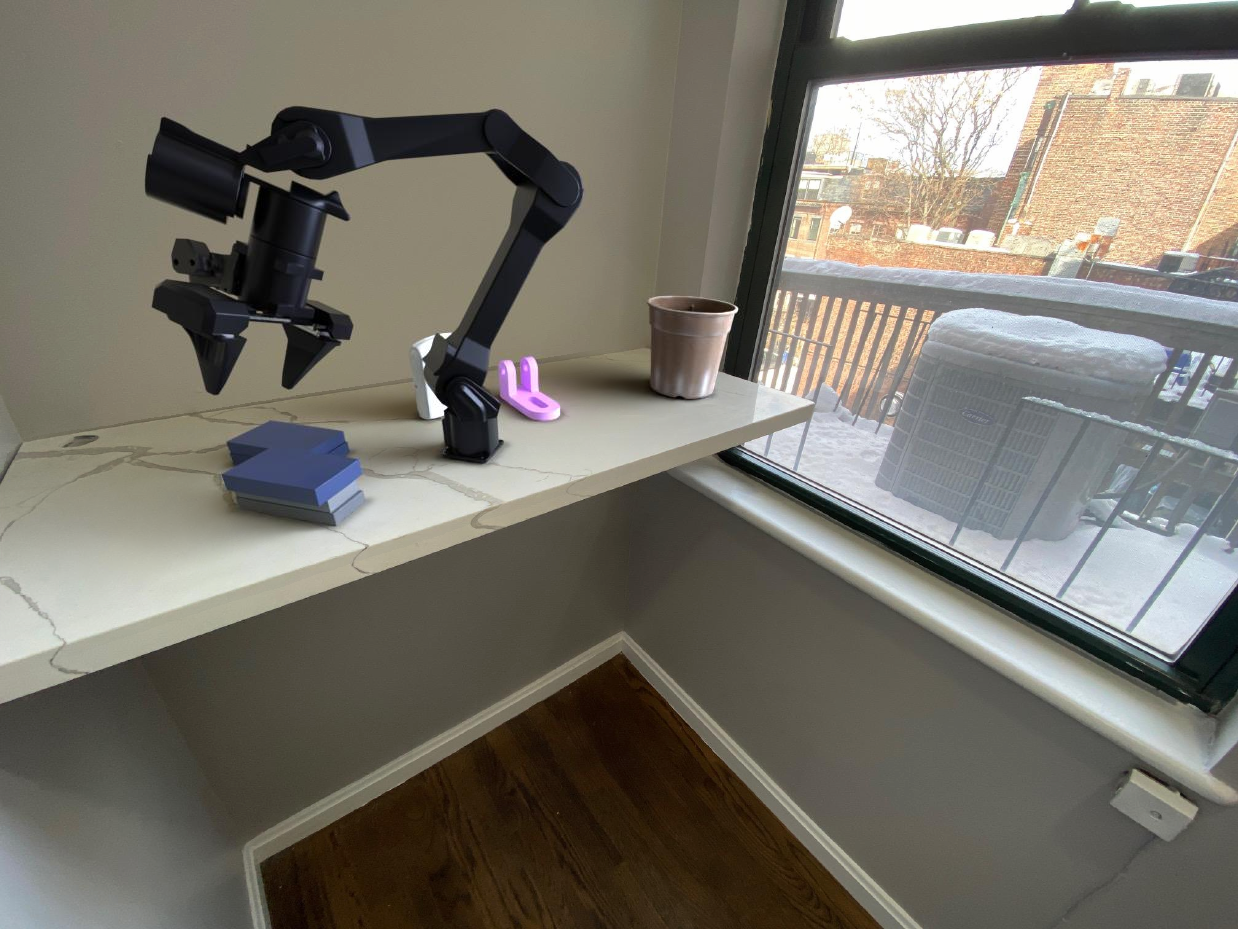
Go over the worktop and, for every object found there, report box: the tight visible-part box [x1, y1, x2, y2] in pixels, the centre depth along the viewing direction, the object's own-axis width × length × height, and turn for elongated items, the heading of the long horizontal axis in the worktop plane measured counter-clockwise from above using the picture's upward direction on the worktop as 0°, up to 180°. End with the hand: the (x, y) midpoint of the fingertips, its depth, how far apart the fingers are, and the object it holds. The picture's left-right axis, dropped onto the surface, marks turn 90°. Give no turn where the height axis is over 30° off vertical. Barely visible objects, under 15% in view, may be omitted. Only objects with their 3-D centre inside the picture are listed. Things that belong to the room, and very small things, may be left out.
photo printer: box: [408, 332, 453, 420], centre depth 80 cm, size 10×4×12 cm, turn 140°
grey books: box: [234, 478, 366, 526], centre depth 57 cm, size 12×5×3 cm, turn 79°
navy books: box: [226, 419, 351, 466], centre depth 66 cm, size 11×7×3 cm, turn 79°
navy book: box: [220, 446, 363, 506], centre depth 55 cm, size 11×7×2 cm, turn 79°
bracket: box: [497, 356, 561, 422], centre depth 85 cm, size 13×6×7 cm, turn 37°
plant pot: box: [646, 295, 739, 400], centre depth 95 cm, size 16×16×16 cm
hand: (252, 390), depth 55 cm, fingers open, 9 cm apart
